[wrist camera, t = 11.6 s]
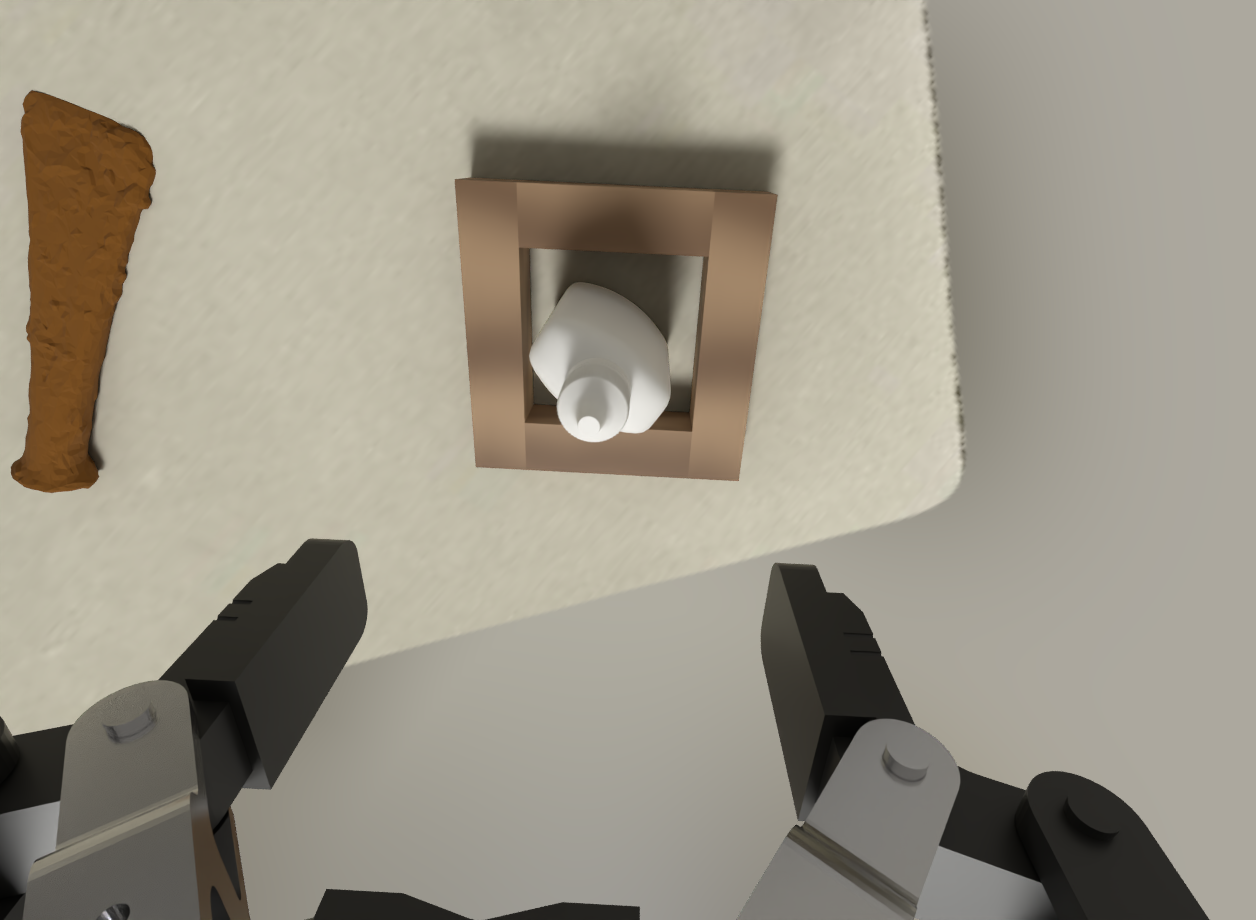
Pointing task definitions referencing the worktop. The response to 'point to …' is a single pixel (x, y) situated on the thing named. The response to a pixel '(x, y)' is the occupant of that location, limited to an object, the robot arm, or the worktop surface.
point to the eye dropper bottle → (602, 364)
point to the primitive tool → (74, 274)
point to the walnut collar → (611, 222)
